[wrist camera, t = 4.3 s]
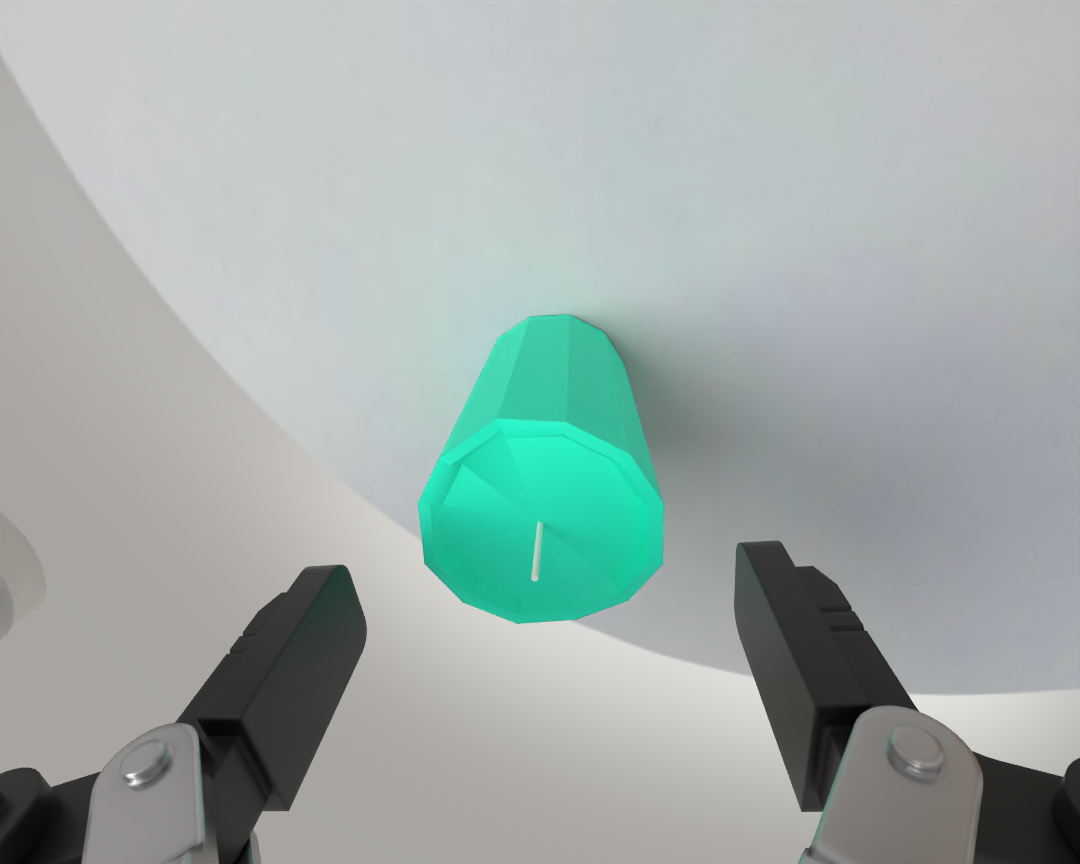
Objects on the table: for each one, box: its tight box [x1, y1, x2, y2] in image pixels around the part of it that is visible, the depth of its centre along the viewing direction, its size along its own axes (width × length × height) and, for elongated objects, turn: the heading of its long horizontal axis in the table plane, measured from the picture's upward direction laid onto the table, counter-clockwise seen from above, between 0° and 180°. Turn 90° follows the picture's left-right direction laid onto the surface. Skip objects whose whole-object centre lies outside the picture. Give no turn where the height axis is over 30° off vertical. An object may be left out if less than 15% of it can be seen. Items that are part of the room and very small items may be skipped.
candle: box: [418, 315, 664, 624], centre depth 17 cm, size 6×6×12 cm
